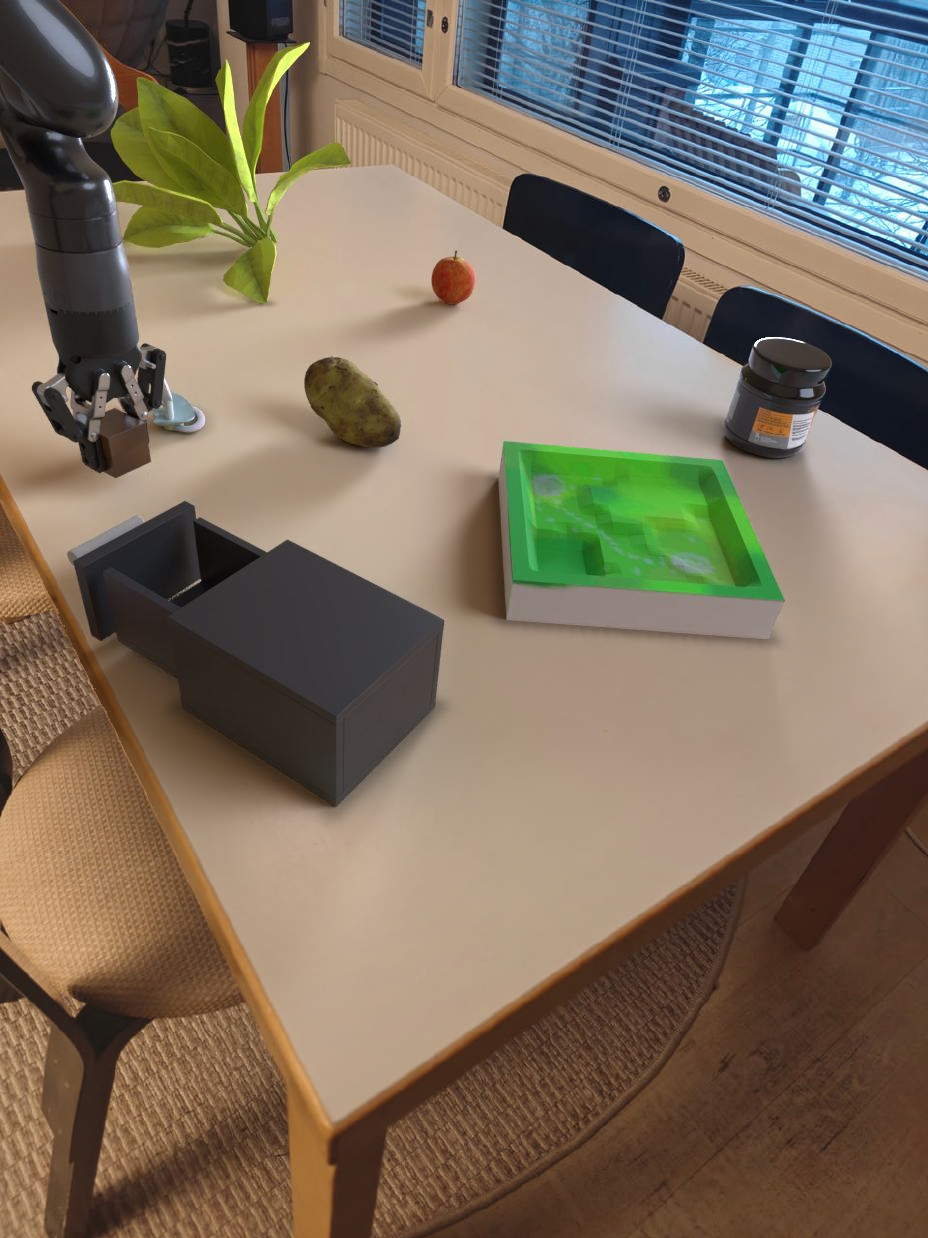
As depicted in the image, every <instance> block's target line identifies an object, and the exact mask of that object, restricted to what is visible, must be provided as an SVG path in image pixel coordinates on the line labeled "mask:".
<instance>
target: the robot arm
mask: <svg viewBox="0 0 928 1238" xmlns="http://www.w3.org/2000/svg"><path fill="white" fill-rule="evenodd" d="M118 108H119V89H118V83H117V80H116V75H115V72H114V71H113V68H112V65H111V63H110V62H109V60H108V58H107V56H106V54H105V53H104V51H103V49H102V47H101V46H100V45H99V43H98V42H97V41H96V39H95V38H94V36H93V35H92V34H91V33H90V32H89V30H88V29H87V28H86V27H85V26H84V25H83V23H81V22H80V21H79V20H78V18H77V17H76V16H75V14H73V13H72V12H71V11H70V10H69V9H68V8H67V7H66V6H65V5H64V4H63V3H62V2H61V1H60V0H0V136H1V138H2V141H3V144H4V145H5V146H4V147H5V148H6V151H7V153H8V156H9V158H10V160H11V162H12V164H13V166H14V169H15V170H16V172H17V175H18V176H19V177H18V178H19V179H20V181H21V184H22V186H23V189H24V194H25V201H26V206H27V212H28V216H29V220H30V221H29V222H30V225H31V230H32V236H33V239H34V247H35V257H36V258H35V259H36V269H37V275H38V280H39V283H40V288H41V293H42V299H43V302H44V307H45V312H46V316H47V322H48V326H49V331H50V336H51V340H52V341H51V342H52V344H53V346H54V348H55V350H56V352H57V355H58V363H57V367H56V375H54V376H53V377H50V379H48V380H47V381H45V382H42V381H40V380H37V381H34V382H33V383H32V385H31V392H32V393H33V395H34V397H35V399H36V400H37V402H38V404H39V405H40V407H41V409H42V411H43V413H44V414H45V416H46V419H47V420H48V421H49V423H50V425H51V427H52V429H53V430H54V432H55V433H56V434H57V435H59V436H62V437H64V438H65V439H68V440H69V441H70V442H72V443H75V444H78V447H79V452H80V457H81V462H82V463H83V465H84V466H85V467H88V468H89V469H90V470H93V471H95V472H96V473H98V474H102V473H104V471H106V470H107V467H106V462H105V457H104V451H103V446H102V441H101V439H100V438H99V432H100V422H101V419H102V418H104V416H105V412H106V408H107V407H106V406H107V404H108V403H109V402H111V401H112V400H114V399H116V400H117V401H118V403H119V406H120V407H121V410H122V412H124V413H126V414H128V415H131V416H133V417H135V418H137V419H139V420H141V421H143V422H145V424H146V431H147V437H148V444H149V445H150V433H149V427H148V419H149V416H150V415H149V414H150V413H151V412H150V411H151V410H152V409H153V408H155V409H158V408H161V407H162V405H161V404H162V395H163V385H164V378H165V373H166V363H167V352H166V351H165V350H163V349H160V348H158V347H156V346H153V345H151V344H149V343H146V342H144V343H143V344H141V345H140V346H139V345H138V344H139V341H140V333H139V327H138V326H139V325H138V319H137V312H136V306H135V299H134V292H133V285H132V277H131V272H130V265H129V262H128V257H127V254H126V251H125V246H124V243H123V236H122V230H121V224H120V217H119V210H118V202H116V196H115V191H114V187H113V184H112V183H113V181H112V179H111V176H110V175H109V174H108V173H107V171H105V169H104V168H102V167H101V166H100V165H99V164H98V163H96V162H95V161H94V160H93V159H92V158H91V156H89V154H88V152H87V151H86V149H85V146H84V143H83V140H82V139H89V138H94V137H97V136H99V135H101V134H102V133H104V132H106V131H107V130H108V129H109V128H110V127H111V126H112V124H113V123H114V120H115V119H116V116H117V112H118ZM136 375H137V378H136ZM67 388H69V389H70V399H69V396H68V395H67ZM69 400H70V404H69V405H70V408H69V405H67V403H68V402H69ZM90 403H91V404H90ZM70 409H71V410H70ZM71 411H72V412H71ZM86 419H87V422H86Z"/></svg>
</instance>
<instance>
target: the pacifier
mask: <svg viewBox="0 0 928 1238" xmlns="http://www.w3.org/2000/svg"><path fill="white" fill-rule="evenodd" d="M149 413H151V414H152V416H153V417H154V419H153V421H152V423H153V425H154V426H162V427H163V428H164V429H165V430H168V431H178V432H181V433H194V432H198V431H200V430H201V429H203V428H204V426H205V424H206V416H205V414H204V412H203V411H201V410H200V409H199V408H197V407H195V406H193V405H192V404H191V403H190V402H189V401H188V400H187V399H186V398H185V397H184V396H182V395H180V394H178V393H176V392H172V391H171V390H170V387H169V385H168V382H167V381H166V378H165V377H164V385H163V395H162V404H161V407H159V408H158V409H155V408H153V409H152V410H151V411H150V412H149ZM195 417H196V418H197V420H196V421H195V422H194V423H192V424H191V425H190V424H189V425H185V423H188V422H191V421H193V420H194V419H195Z"/></svg>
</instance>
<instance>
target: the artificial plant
mask: <svg viewBox="0 0 928 1238" xmlns="http://www.w3.org/2000/svg"><path fill="white" fill-rule="evenodd" d="M310 43H311V42H310V41H309V42H304V43H301V44H298V45H295V46H287V47H284V48H283V49H280V50H278V51H276V52H275V54H274V55H273V56H272V58H271V59H270V61H269V62H268V63H267V65H266V68H265V69H264V72H263V73H262V75H261V78H260V80H259V81H258V84H257V86H256V87H255V90H254V92H253V94H252V96H251V98H250V99H249V102H248V105H247V108H246V111H245V113H244V117H243V120H242V124H241V131H240V128H239V124H238V117H237V113H236V106H235V95H234V86H233V79H232V71H231V68H230V65H229V61H228V60H227V59H225V60H224V62H223V65H222V67H221V68H220V69H219V70H218V72H217V74H216V77H215V80H214V81H215V83H216V87H217V91H218V94H219V98H220V103H221V107H222V111H223V113H224V119H225V120H224V122H225V126H226V132H227V135H228V137H227V135H226V134H225V133H224V131H223V130H222V129H221V128H220V127H219V126H218V125H217V123H216V122H215V121H214V120H213V119H212V118H210V116H208V115H207V114H206V113H204V112H203V111H202V110H201V109H199V108H198V107H197V106H196V105H195V104H194V103H192V102H191V101H190V100H189V99H188V98H186V97H184V96H182V95H180V94H178V93H176V92H174V91H173V90H171V89H170V88H169V89H168V88H166V87H164V86H163V85H161V84H159V83H157V82H155V81H153V80H150V79H148V78H145V77H141V76H138V77H136V89H137V94H138V95H137V104H138V105H137V106H136V107H133V108H131V110H129V111H127V112H124V113H123V114H122V115H121V116H119V117H118V118H117V119H116V121H115V123H114V125H113V127H112V128H111V129H110V138H111V141H112V144H113V147H114V150H115V151H116V152H117V154H118V155H119V157H120V159H121V160H122V162H123V163H124V164H125V165H126V167H127V168H129V170H130V171H131V172H132V173H133V174H134V175H135V176H136V177H137V178H140V179H142V180H143V181H145V182H147V183H143V182H137V181H133V180H127V179H124V180H120V181H116V182H112V184H113V187H114V191H115V196H116V202H117V203H124V204H125V203H126V204H130V205H131V204H132V205H137V206H140V207H139V208H138V209H137V210H136V211H135V212H134V213H133V214H132V216H131V219H130V220H129V222H128V224H127V226H126V229H125V231H124V233H123V236H122V241H124V242H126V243H129V244H133V245H135V246H140V247H143V248H154V249H160V248H165V247H168V246H172V245H175V244H181V243H188V242H190V241H194V240H196V239H201V238H206V237H208V236H210V235H213V234H216V235H220V236H223V237H226V238H229V239H231V240H233V241H235V242H237V243H238V244H240V245H242V246H245V247H247V248H249V249H248V250H246V251H245V252H244V253H243V254H241V255H240V256H239V257H238V258H237V259H236V260H235V261H234V263H233V264H232V265H231V266H230V267H229V268H228V269H227V271H225V273H224V274H223V277H222V281H223V282H224V284H225V285H226V286H228V287H229V288H231V289H232V290H235V291H237V292H239V293H241V294H243V295H244V296H245V297H247V298H249V299H251V300H253V301H255V302H258V303H260V304H264V305H266V304H267V303H268V301H269V295H270V288H271V284H272V283H271V282H272V273H273V271H274V266H275V262H276V260H277V259H276V258H277V247H276V244H277V243H278V241H279V237H278V235H277V233H276V231H275V229H273V227H272V221H273V216H274V213H275V211H276V208H277V206H278V204H279V202H280V201H281V199H282V198H283V196H284V195H285V193H286V192H287V190H288V189H289V188H290V187H291V186H292V185H293V184H294V183H295V182H296V181H297V180H298V179H300V178H301V177H303V176H304V175H306V174H308V173H310V172H311V171H315V170H317V169H325V168H341V167H350V166H351V165H352V161H351V160H350V157H349V156H348V154H347V152H346V150H345V148H344V147H343V146H342V144H341V143H340V142H339V141H333V142H330V143H328V144H326V145H325V146H323V147H320V148H319V149H316V150H315V151H313V152H310V153H309V154H307V155H305V156H303V157H301V158H300V159H299V160H297V161H296V162H295V163H293V164H292V166H291V167H290V169H289V170H288V171H287V172H284V173H283V174H282V175H281V174H280V175H279V178H278V179H277V182H276V184H275V186H274V187H273V189H272V190H271V192H270V194H269V197H268V199H267V204H266V207H265V209H264V212H263V210H262V208H261V206H260V201H259V196H258V188H257V181H256V169H257V163H258V160H259V158H260V154H261V152H262V148H263V136H264V124H265V114H266V109H267V105H268V102H269V100H270V98H271V95H272V94H273V91H274V89H275V87H276V86H277V84H278V83H279V81H280V79H281V78H282V76H283V75H284V74H285V73H286V72H287V71H288V69H289V68H290V67H291V66H292V65H293V64H294V63H295V62H296V60H297V59H298V58H299V57H300V56H302V54H304V52H305V51H306V50H307V49H308V48H309V46H310ZM228 139H229V140H228ZM148 183H149V184H148ZM244 192H245V193H244ZM245 194H246V196H247V198H248V201H249V202H250V203H253V206H254V209H255V213H256V218H257V220H258V225H257V223H255V222H254V221H253V220H252V219H251V218H250V217H249V210H248V209H249V207H248V203H247V200H246V196H245ZM217 209H220V210H225V211H226V212H227V213H228V214H229V215H230V216H231V217H232V219H233V220H234V221H235V223H236V224H237V225H238V226H239V228H240V230H239V229H238V228H235V227H234V226H232V225H230V224H228V223H226V222H224V221H223V218H222V217H221V215H220V214H219V212H218V210H217ZM264 214H265V215H267V219H266V217H265V215H264ZM213 225H214V226H216V227H218V228H220V229H223V230H225V231H227V232H224V231H221V230H219V229H215V227H214V226H213ZM228 232H229V233H228Z"/></svg>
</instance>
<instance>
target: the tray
mask: <svg viewBox="0 0 928 1238" xmlns="http://www.w3.org/2000/svg"><path fill="white" fill-rule="evenodd" d="M502 443H503V444H502V449H501V457H500V464H499V471H498V478H497V479H498V496H499V515H500V530H501V549H502V567H503V585H504V598H505V599H504V604H505V619H506V621H513V622H514V621H516V622H527V623H528V622H529V623H541V624H542V623H543V624H553V625H554V624H558V625H568V626H569V625H571V626H580V627H581V626H584V627H596V628H610V629H622V630H623V629H624V630H636V631H649V632H651V631H652V632H662V633H663V632H665V633H678V634H688V635H689V634H690V635H691V634H692V635H702V636H703V635H705V636H717V637H729V638H730V637H731V638H744V639H759V640H769V638H770V636H771V633H772V632H773V629H774V626H775V624H776V622H777V620H778V617H779V615H780V613H781V611H782V609H783V606H784V604H785V601H786V600H785V598H784V595H783V593H782V591H781V588H780V586H779V583H778V581H777V579H776V576H775V575H774V573H773V571H772V568H771V566H770V563H769V561H768V559H767V557H766V554H765V553H764V549H763V548H762V546H761V544H760V543H761V542H760V541H759V540H758V536H757V534H756V532H755V529H754V527H753V525H752V523H751V521H750V519H749V516H748V514H747V512H746V510H745V507H744V505H743V503H742V501H741V499H740V498H741V497H740V496H739V494H738V491H737V490H736V489H737V488H736V487H735V485H734V483H733V481H732V478H731V476H730V474H729V471H728V469H727V466H726V464H725V462H724V460H723V459H713V458H703V457H693V456H692V457H691V456H679V455H670V454H669V455H668V454H656V453H644V452H634V451H632V452H631V451H622V450H611V449H598V448H589V447H588V448H587V447H579V446H578V447H575V446H566V445H553V444H544V443H543V444H541V443H531V442H518V441H510V440H509V441H506V440H504V441H503V442H502Z"/></svg>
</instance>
